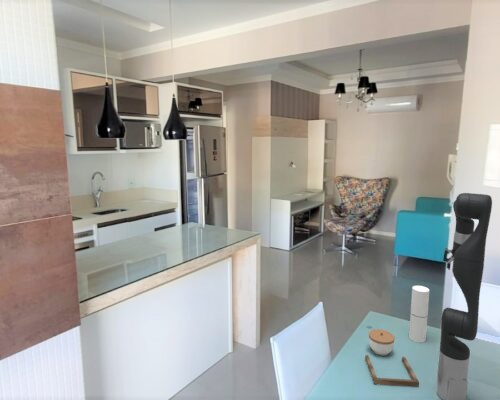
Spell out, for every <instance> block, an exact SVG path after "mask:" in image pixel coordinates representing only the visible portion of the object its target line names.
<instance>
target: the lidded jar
mask: <svg viewBox="0 0 500 400" xmlns="http://www.w3.org/2000/svg"><path fill="white" fill-rule="evenodd" d="M395 339H396V338H395V336H394V334H393V333H392V332H390V331H388V330H386V329H379V328H375V329H371V330H370V331H369V332H368V343H369V346H370V348H371V350H372V351H373V352H374V353H375V354H376V355H378V354H379V355H378V356H388V354H390V353H391V352H392V351H393V348H394V345H395Z"/></svg>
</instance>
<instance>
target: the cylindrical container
mask: <svg viewBox="0 0 500 400" xmlns="http://www.w3.org/2000/svg"><path fill="white" fill-rule="evenodd" d="M429 299H430V289H429V288H428V287H426V286H424V285H413V286H412V287H411V304H410V316H409V317H410V318H409V333H408V337H409V339H410V340H411V341H412V342H415V343H420V344H421V343H425V342H426V340H427V327H428V316H429V315H428V313H429V302H430V301H429Z"/></svg>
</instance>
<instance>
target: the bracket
mask: <svg viewBox="0 0 500 400" xmlns="http://www.w3.org/2000/svg"><path fill="white" fill-rule="evenodd" d="M364 360H365V363H366V362H367V363H366V365H368V366H367V367H368V371H369V373H371V374H370V376H371V378H373V379H372V381H374V382H373V384H374V385H377V384H380V386H381V385H382V386H396V387H397V386H399V387H415V388H419V387H420V381H419V379H418V378H417V376H416V374H415V372H414V371H413V368H412V367H411V365H410V364H409V362H408V360H407V358H406V356H401V362H402V364H403V366H404V368H405V370H406V372H407V374H408V376H409V378H410V379H407V378H404V379H403V378H387V377H386V378H385V377H378V376H377V374H376V372H375V369H374V366H373V364H372V361H371V358H370V356H369V354H364Z"/></svg>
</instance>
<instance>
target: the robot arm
mask: <svg viewBox="0 0 500 400" xmlns="http://www.w3.org/2000/svg"><path fill="white" fill-rule="evenodd" d="M455 198H456V199H455V200H454V201H453V203H452V204H453V205H452V207H453V212H454V215H455V229H454V233H453V241H452V243H453V244H452V249H448V247H445V248H444V253H443V257H442V261H443V262H446V268H447V269H448V270H449V271H450V270H452V274H453V277H454V279H455V281H456V283H457V285H458V287H459V289H460V290H461V292H462V294H463V296H464V299H465V303H466V305H467V311H464V310H458V309H455V308H452V307H445V308H444V309H443V311H442V312H441V317H440V319H441V320H440V343H439V344H440V345H439V354H438V364H437V365H438V368H437V379H436V395H437V396H438V397H439V398H440V399H441V400H467V396H468V395H467V394H468V385H469V381H468V374H469V365H470V356H471V354H470V353H471V350H470V348H469V346H468V345H467V344H465V343H464V342H463V341H462V340H460V339H463V340H466V341H469V342H471V341H474V340H475V339H476V337H477V334H478V325H479V312H480V310H479V309H480V308H479V307H480V293H481V287H482V281H483V275H484V269H485V268H484V267H485V266H484V265H485V255H486V243H487V236H488V229H489V226H490V225H489V224H490V219H491V215H492V207H493V199H492V196H491V195H489V194H483V193H471V192H463V193H461V192H460V193H459V194H458V195H457V196H456V197H455ZM474 220H478V223H477V225H476V227H475V221H474ZM450 253H451V256H450V257H448V255H450ZM451 263H452V269H451Z"/></svg>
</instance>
